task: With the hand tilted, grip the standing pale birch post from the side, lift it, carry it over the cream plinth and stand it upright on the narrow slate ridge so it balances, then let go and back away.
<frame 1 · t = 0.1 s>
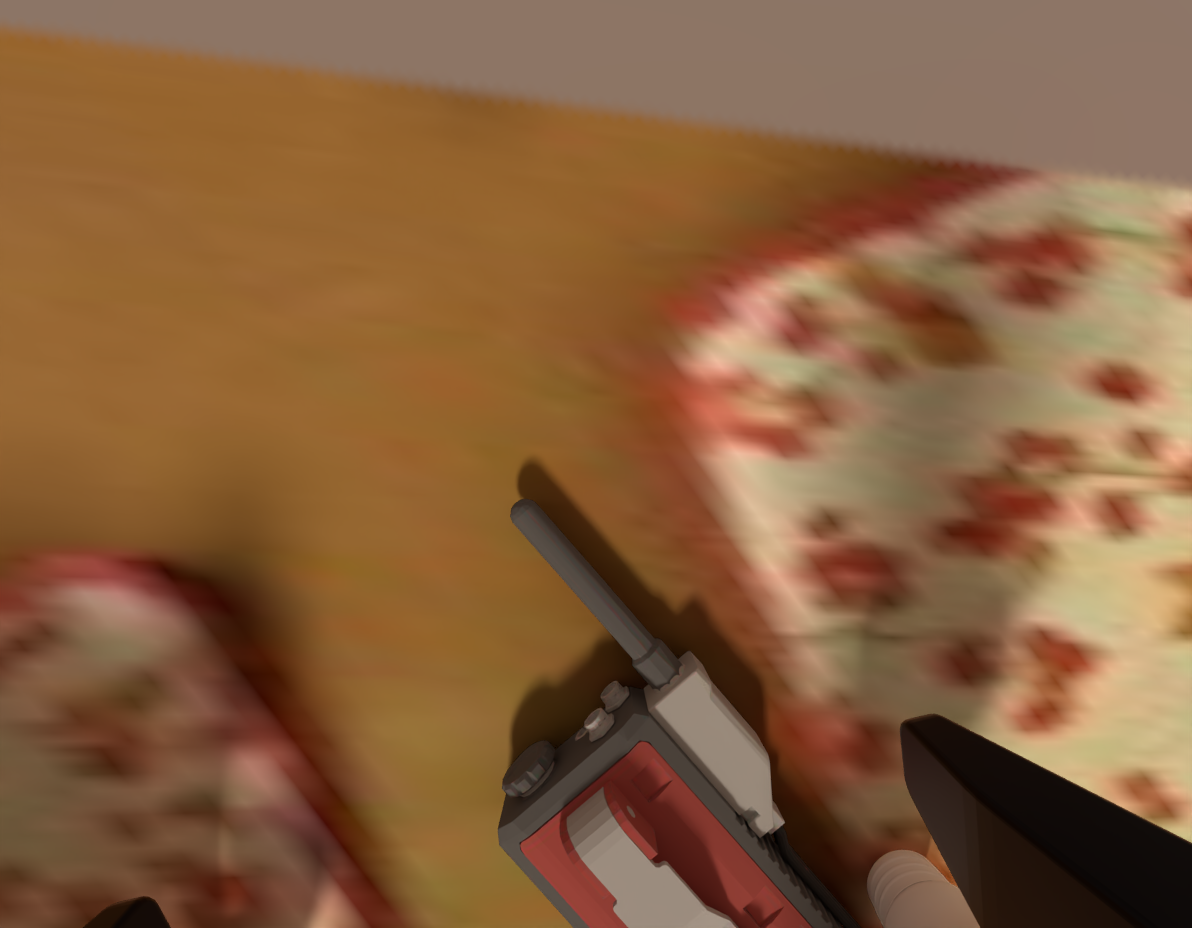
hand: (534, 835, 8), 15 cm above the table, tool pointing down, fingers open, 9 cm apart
lightbulb: (889, 865, 24), on the table
walkie-talkie: (632, 763, 24), on the table
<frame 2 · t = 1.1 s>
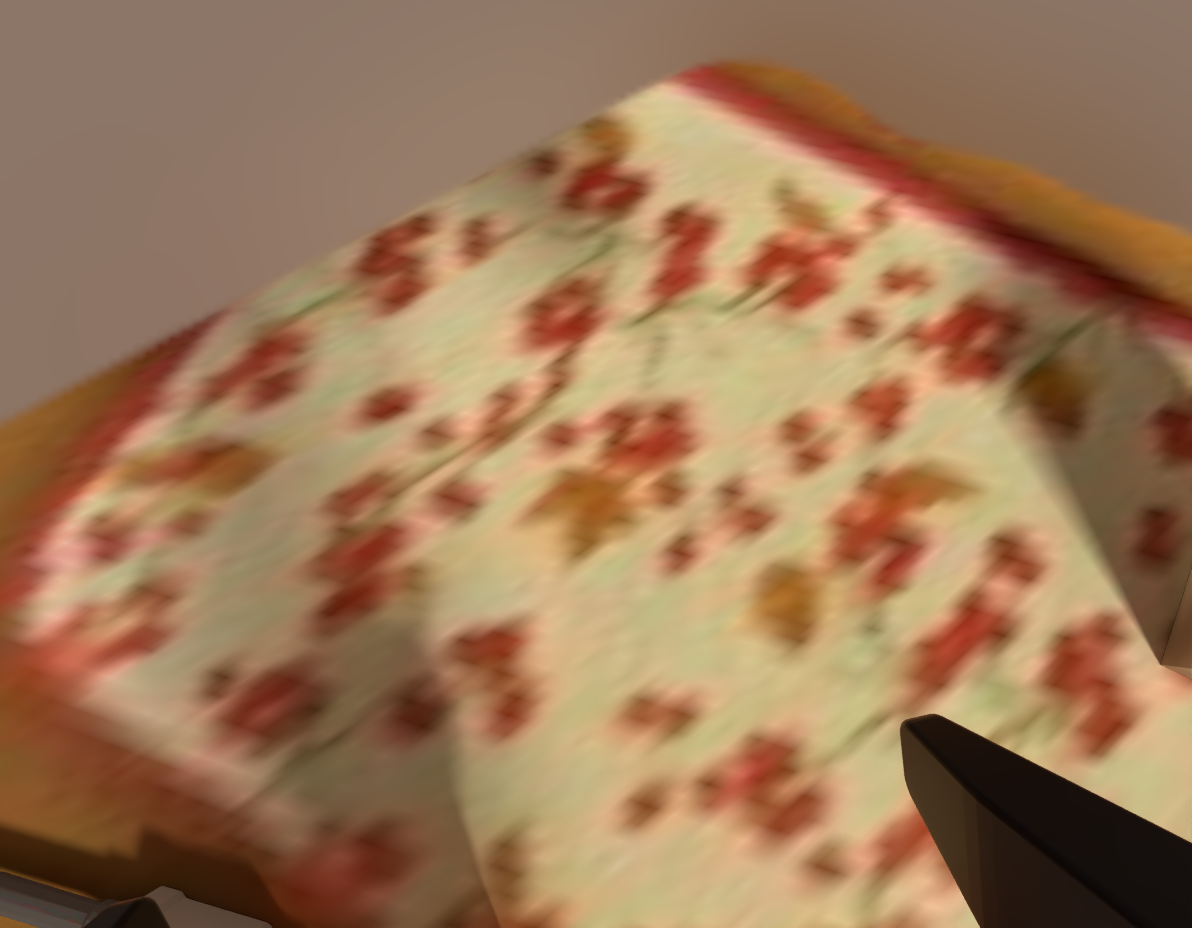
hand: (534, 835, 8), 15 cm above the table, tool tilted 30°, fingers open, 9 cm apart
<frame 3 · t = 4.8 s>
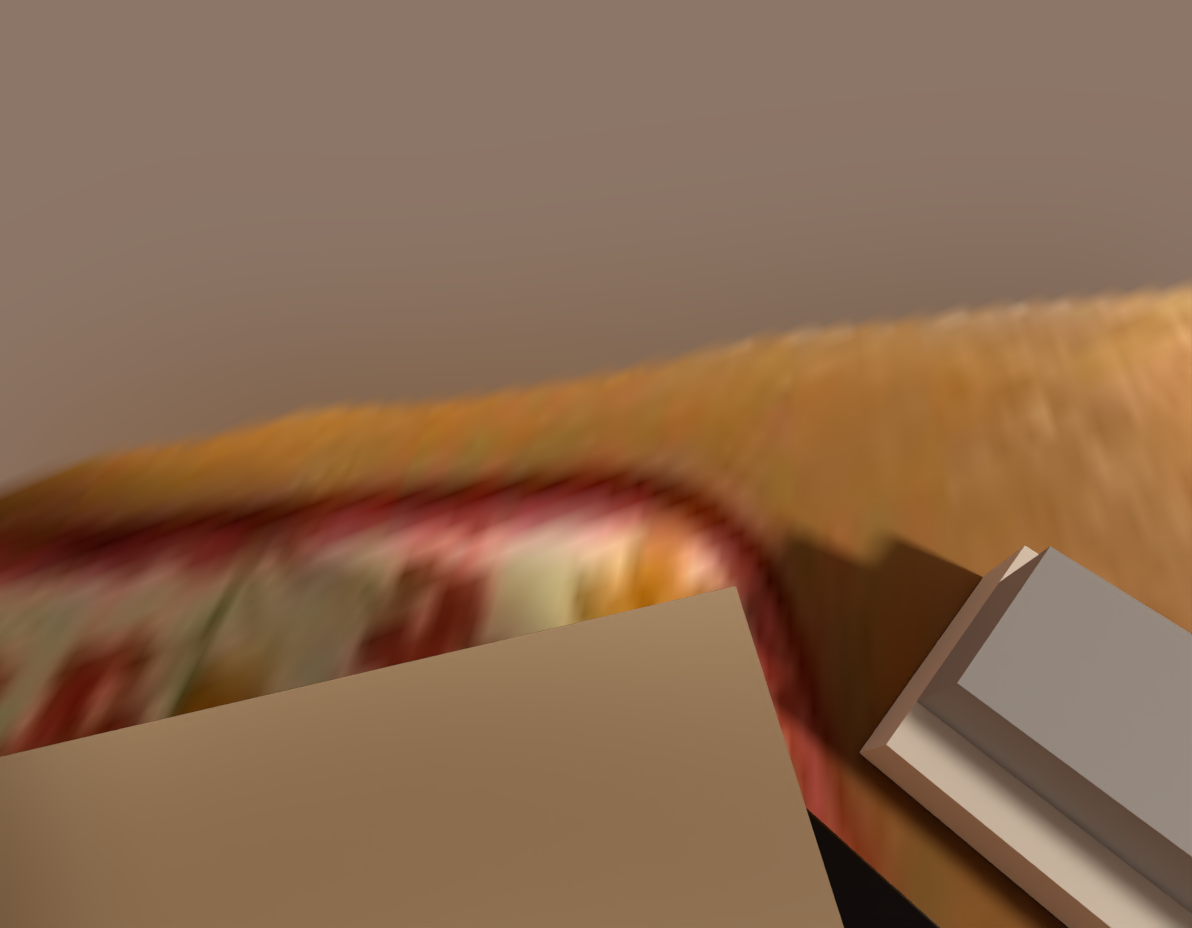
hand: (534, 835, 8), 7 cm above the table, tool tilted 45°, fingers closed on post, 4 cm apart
post: (609, 902, 13), on the table, touching gripper
when the fingers open (11 cm above the table, at t = 7.6 s): post stays where it is, resting on ridge.
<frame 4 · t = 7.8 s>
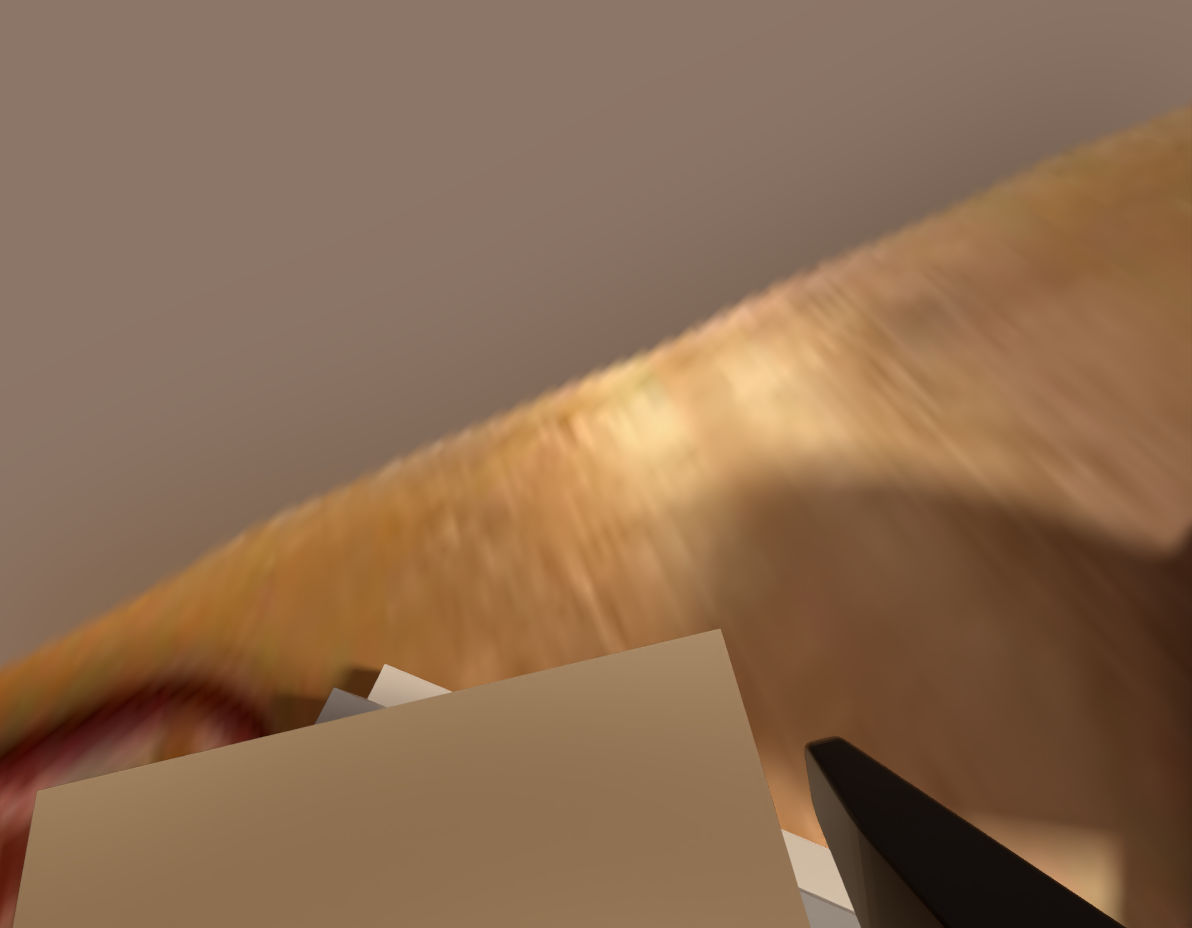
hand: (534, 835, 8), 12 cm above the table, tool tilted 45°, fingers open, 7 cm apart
post: (612, 895, 14), point 4 cm above the table, touching ridge
ridge: (626, 878, 17), on the table
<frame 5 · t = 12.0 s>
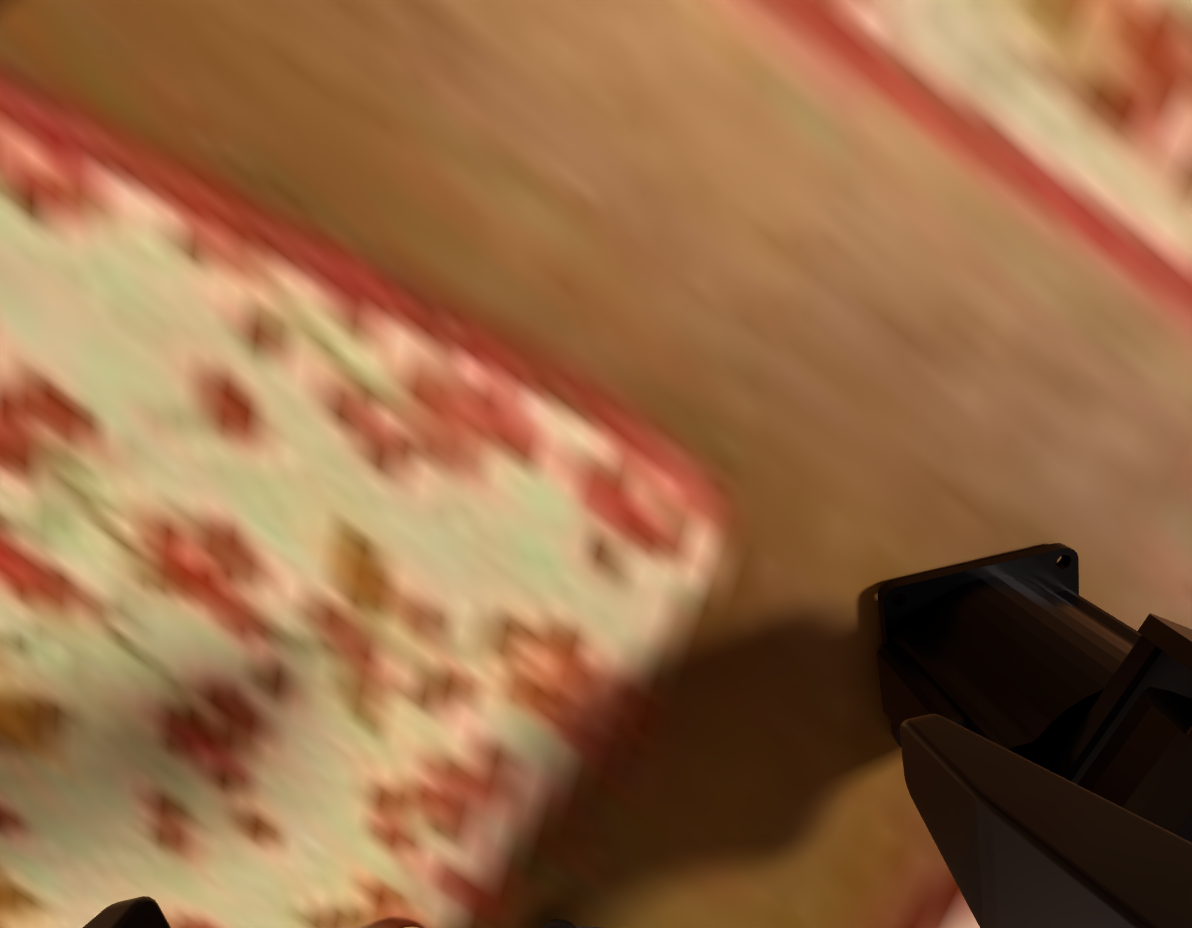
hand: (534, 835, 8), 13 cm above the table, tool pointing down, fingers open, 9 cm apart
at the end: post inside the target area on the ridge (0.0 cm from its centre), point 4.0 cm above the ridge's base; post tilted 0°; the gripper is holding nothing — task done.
